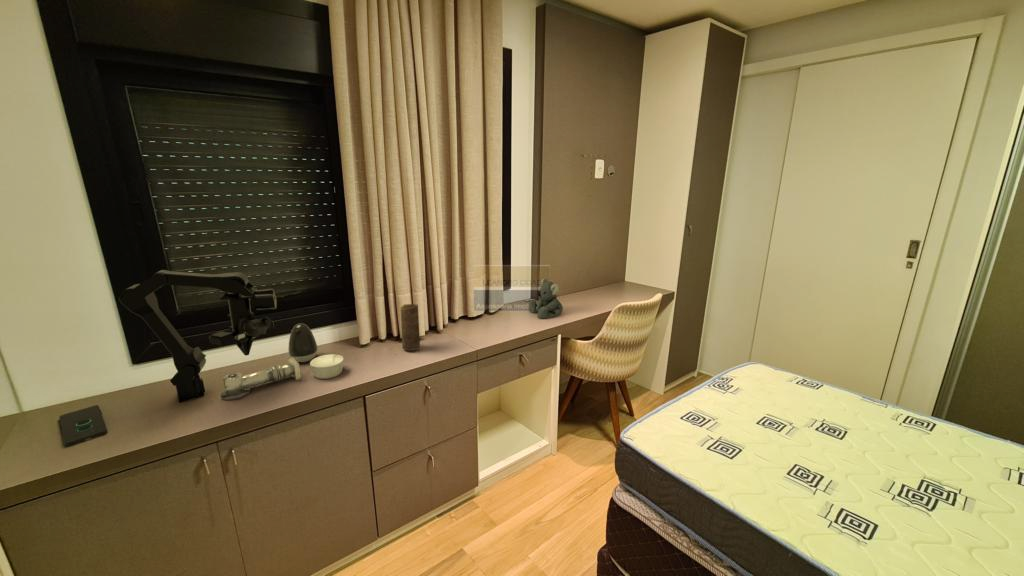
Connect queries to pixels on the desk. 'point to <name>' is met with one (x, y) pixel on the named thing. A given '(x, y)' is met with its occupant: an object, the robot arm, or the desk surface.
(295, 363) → the metal pipe fitting
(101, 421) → the smart home device
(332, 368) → the ramekin
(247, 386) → the elbow
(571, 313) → the desk surface
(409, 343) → the candle
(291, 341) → the black egg-shaped dome
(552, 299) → the koala plush
